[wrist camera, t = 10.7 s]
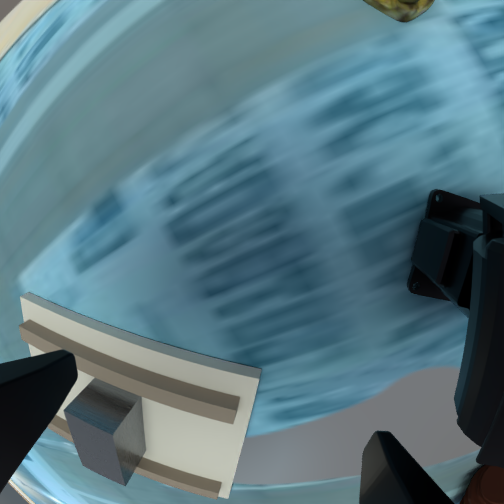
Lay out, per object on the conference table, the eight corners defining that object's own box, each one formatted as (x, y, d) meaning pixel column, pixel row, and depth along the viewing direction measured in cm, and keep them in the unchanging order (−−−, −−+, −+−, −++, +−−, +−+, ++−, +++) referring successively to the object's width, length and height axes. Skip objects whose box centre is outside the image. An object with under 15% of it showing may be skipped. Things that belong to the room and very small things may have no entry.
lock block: (141, 395, 22) (112, 435, 17) (146, 450, 24) (125, 486, 19) (95, 376, 22) (63, 410, 17) (106, 433, 24) (82, 465, 19)
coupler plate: (261, 369, 21) (256, 392, 18) (230, 490, 25) (224, 509, 23) (28, 292, 23) (9, 302, 20) (58, 422, 28) (46, 434, 25)
